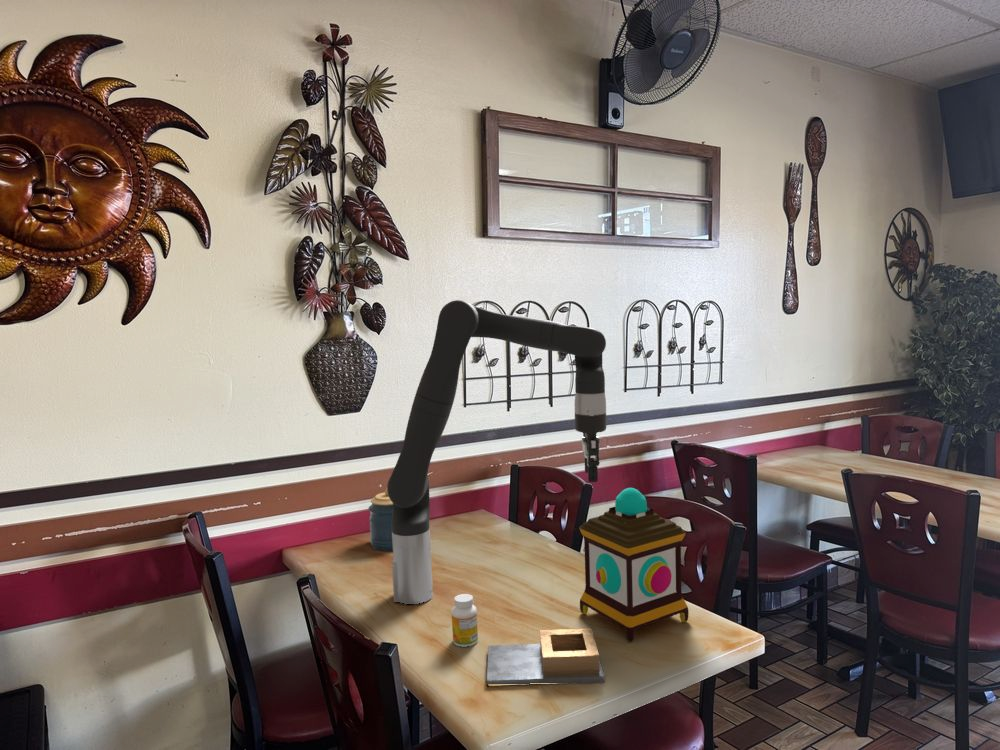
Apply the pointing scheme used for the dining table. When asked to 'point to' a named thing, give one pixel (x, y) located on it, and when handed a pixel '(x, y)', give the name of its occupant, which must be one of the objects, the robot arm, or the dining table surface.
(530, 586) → the dining table surface
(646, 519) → the decorative lantern
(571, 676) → the jig
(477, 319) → the robot arm
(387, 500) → the canister
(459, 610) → the supplement bottle
